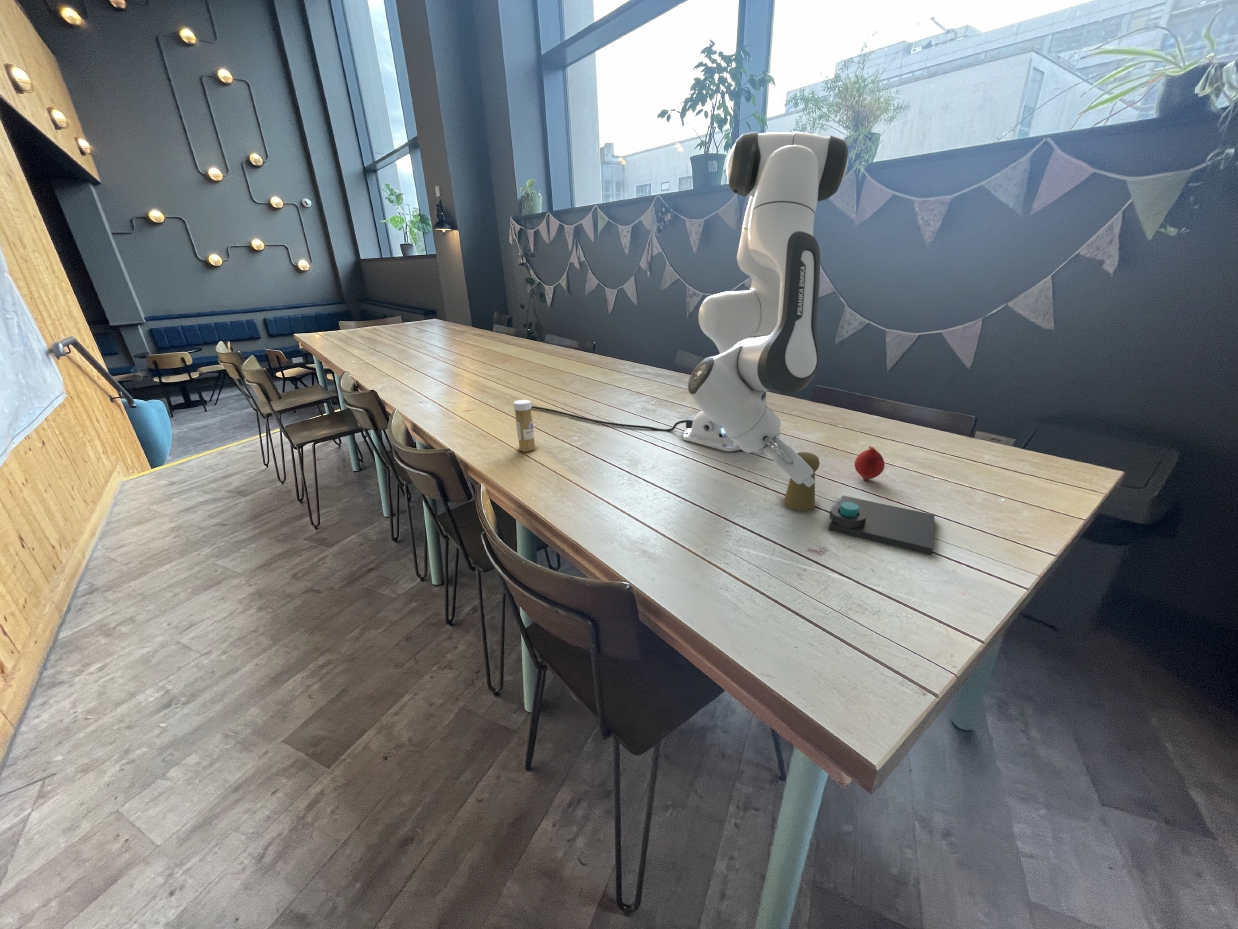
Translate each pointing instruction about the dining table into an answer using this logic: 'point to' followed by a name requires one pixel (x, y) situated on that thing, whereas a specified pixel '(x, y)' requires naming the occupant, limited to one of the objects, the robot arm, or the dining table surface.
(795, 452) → the robot arm
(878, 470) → the onion
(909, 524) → the scale
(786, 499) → the cork
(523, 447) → the sprinkles bottle
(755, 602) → the dining table surface
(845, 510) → the button
